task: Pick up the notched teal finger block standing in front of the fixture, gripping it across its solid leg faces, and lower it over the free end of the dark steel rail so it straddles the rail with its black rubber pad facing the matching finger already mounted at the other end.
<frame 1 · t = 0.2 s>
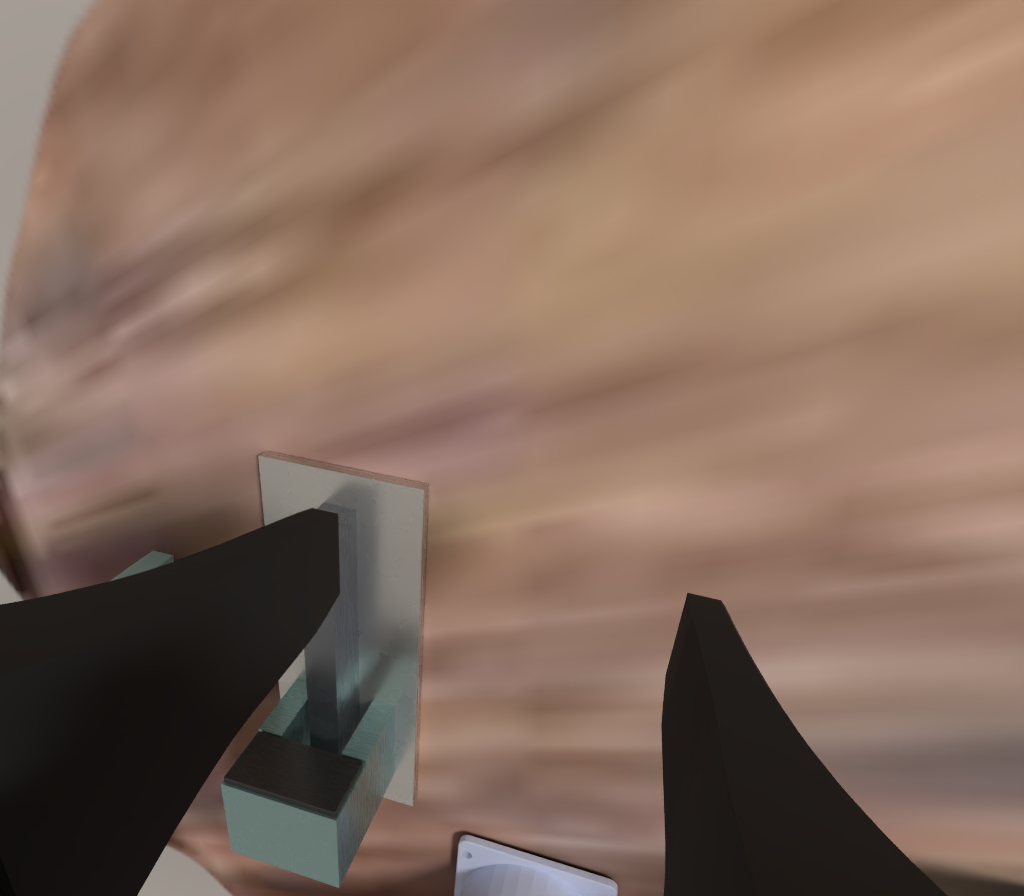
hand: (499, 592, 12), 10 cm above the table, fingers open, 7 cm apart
finger block: (205, 600, 30), on the table
rail: (349, 643, 28), on the table
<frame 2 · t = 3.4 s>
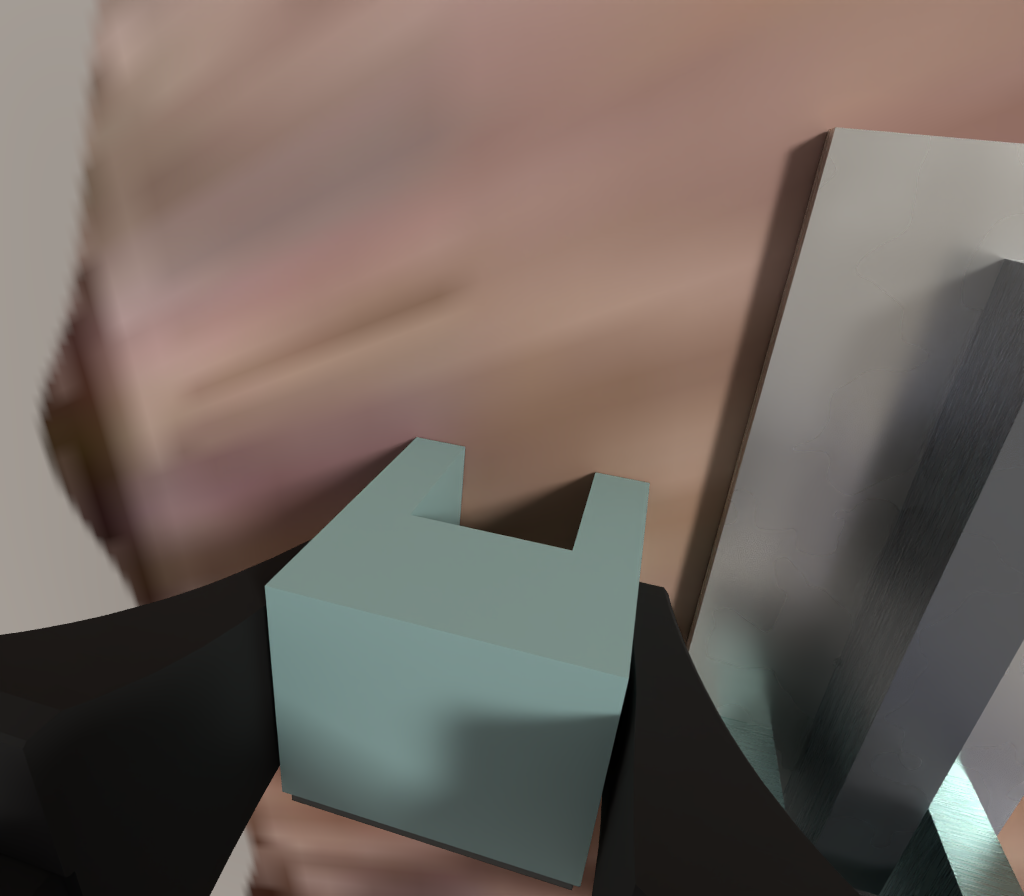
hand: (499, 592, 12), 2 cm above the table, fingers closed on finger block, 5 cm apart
finger block: (518, 549, 14), on the table, touching gripper
rail: (874, 640, 13), on the table
when the fingers open (3 cm above the table, at t = 7.7 s): finger block stays where it is, resting on rail.
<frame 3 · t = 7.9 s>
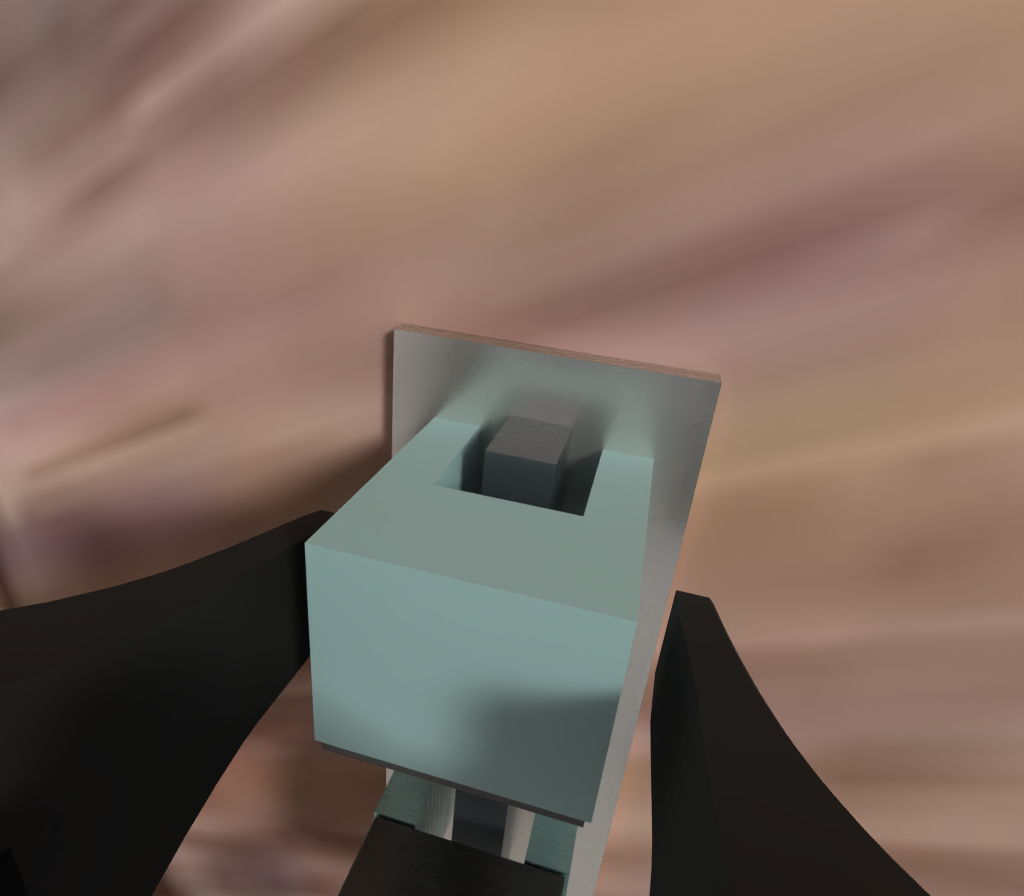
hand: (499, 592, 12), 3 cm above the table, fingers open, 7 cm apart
finger block: (529, 524, 15), resting on rail
rail: (513, 664, 17), on the table
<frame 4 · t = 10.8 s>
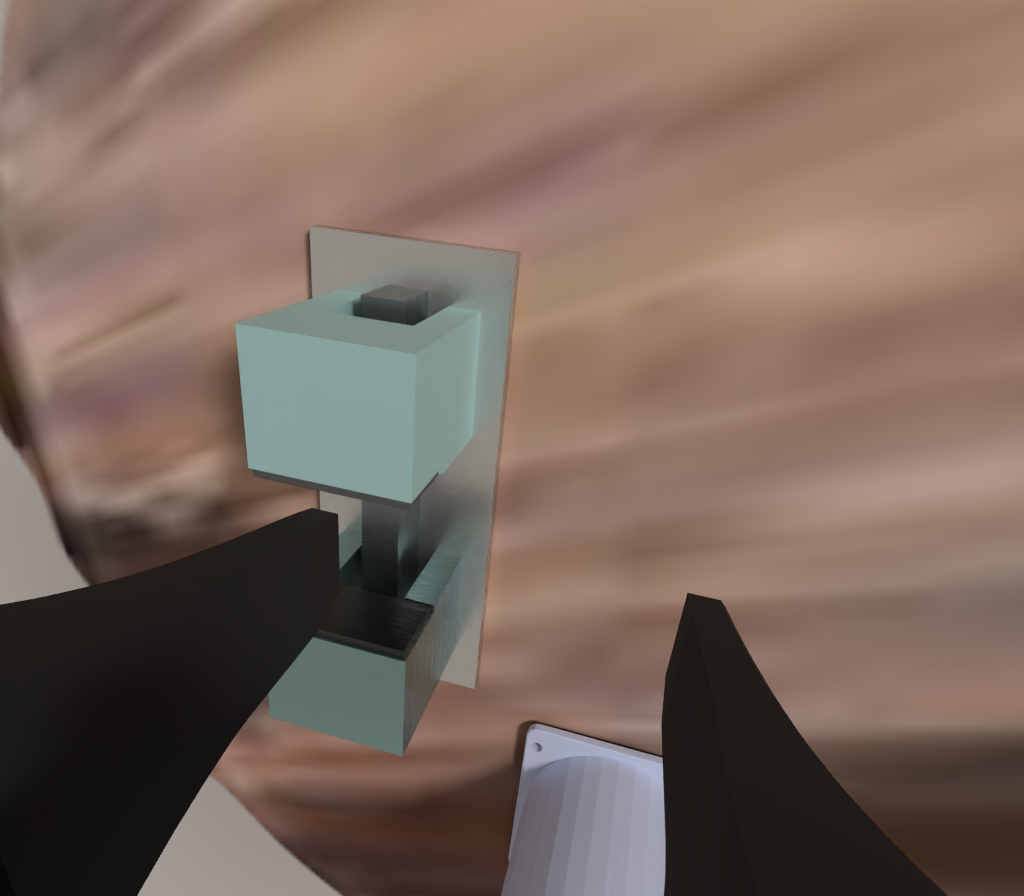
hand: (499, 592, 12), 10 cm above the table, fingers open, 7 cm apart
finger block: (406, 365, 21), resting on rail
rail: (408, 482, 24), on the table
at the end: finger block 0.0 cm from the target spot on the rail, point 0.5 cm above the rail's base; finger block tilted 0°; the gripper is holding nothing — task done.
